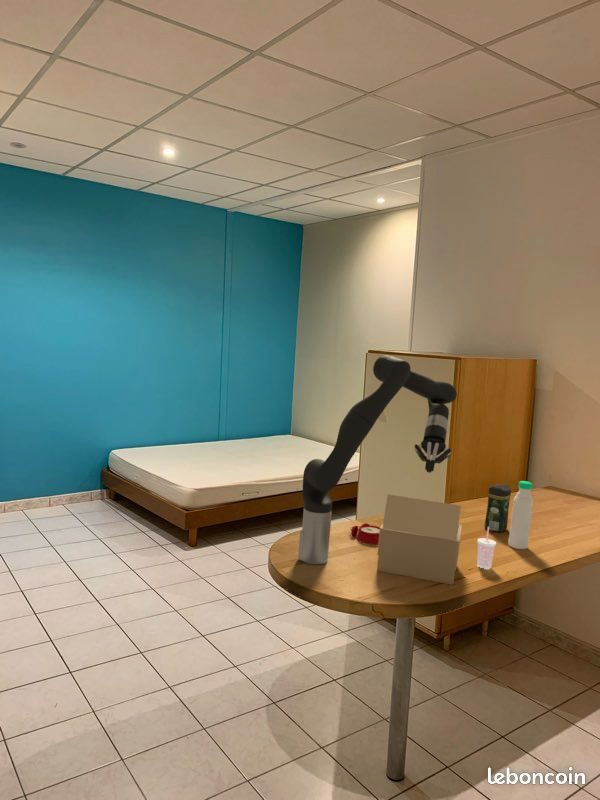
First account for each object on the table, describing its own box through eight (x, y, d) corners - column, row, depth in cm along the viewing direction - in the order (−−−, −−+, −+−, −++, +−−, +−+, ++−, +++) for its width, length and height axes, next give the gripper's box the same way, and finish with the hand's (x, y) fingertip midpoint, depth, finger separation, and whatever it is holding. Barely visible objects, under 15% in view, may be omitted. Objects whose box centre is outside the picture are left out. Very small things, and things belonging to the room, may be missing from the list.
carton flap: (382, 528, 195) (382, 528, 195) (387, 494, 198) (387, 494, 198) (456, 541, 188) (456, 540, 188) (460, 505, 192) (460, 505, 191)
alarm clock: (374, 538, 217) (346, 517, 228) (370, 553, 219) (342, 531, 230) (393, 533, 224) (365, 513, 235) (389, 548, 226) (361, 527, 237)
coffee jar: (490, 524, 256) (495, 481, 254) (509, 529, 251) (514, 485, 249) (481, 528, 249) (486, 484, 247) (500, 534, 244) (505, 489, 242)
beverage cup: (470, 564, 208) (475, 525, 206) (482, 562, 212) (486, 523, 210) (485, 571, 203) (490, 531, 201) (497, 568, 207) (501, 528, 205)
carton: (375, 570, 197) (379, 528, 195) (385, 551, 214) (388, 512, 213) (454, 585, 190) (459, 541, 188) (457, 564, 207) (462, 524, 206)
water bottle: (531, 550, 228) (539, 484, 225) (513, 549, 227) (521, 484, 224) (521, 543, 235) (529, 479, 232) (504, 543, 233) (512, 479, 230)
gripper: (416, 421, 215) (409, 462, 205) (455, 426, 211) (449, 467, 201) (417, 434, 220) (409, 474, 210) (454, 439, 217) (448, 480, 207)
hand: (429, 471), depth 206 cm, fingers closed
